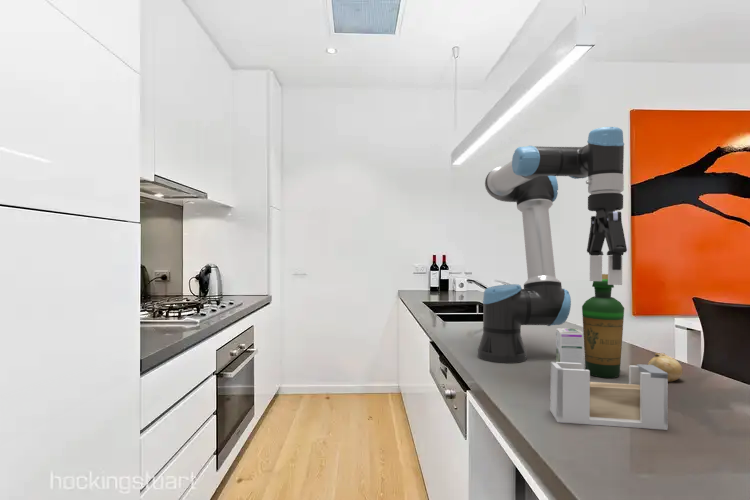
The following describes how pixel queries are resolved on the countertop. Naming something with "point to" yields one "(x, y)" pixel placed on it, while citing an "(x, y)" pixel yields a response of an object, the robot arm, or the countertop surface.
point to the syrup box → (569, 345)
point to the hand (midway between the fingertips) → (604, 283)
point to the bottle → (603, 331)
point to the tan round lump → (667, 366)
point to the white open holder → (575, 396)
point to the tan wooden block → (615, 400)
